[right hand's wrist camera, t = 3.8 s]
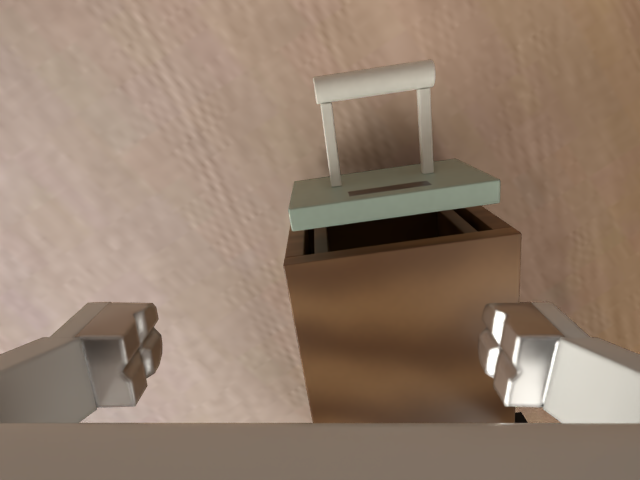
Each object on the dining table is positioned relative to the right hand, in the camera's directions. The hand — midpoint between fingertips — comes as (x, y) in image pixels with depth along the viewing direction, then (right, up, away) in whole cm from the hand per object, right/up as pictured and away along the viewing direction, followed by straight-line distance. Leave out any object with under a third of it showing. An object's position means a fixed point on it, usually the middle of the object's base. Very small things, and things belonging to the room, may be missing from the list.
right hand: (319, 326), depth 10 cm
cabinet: (+5, -5, +21) cm, 22 cm away
